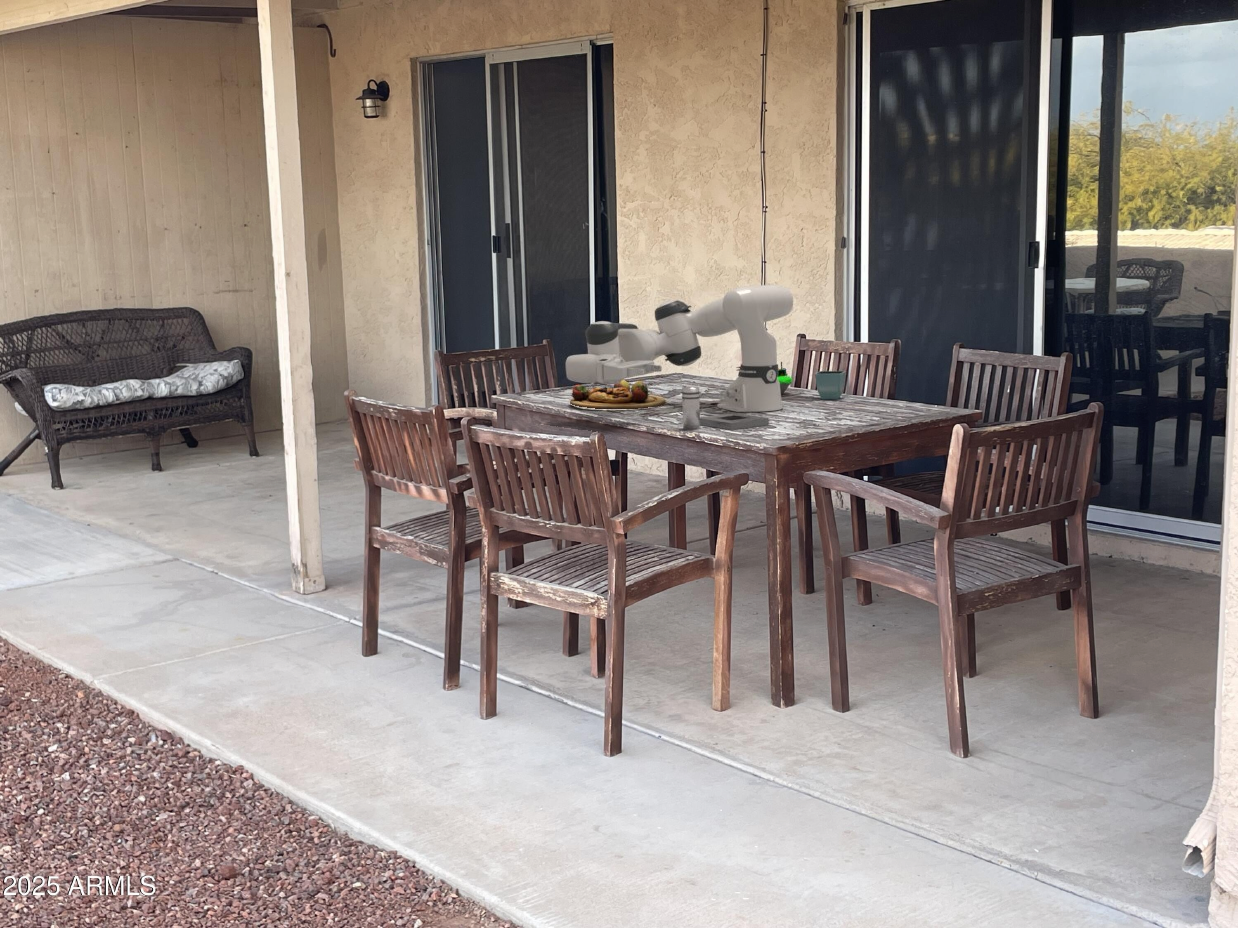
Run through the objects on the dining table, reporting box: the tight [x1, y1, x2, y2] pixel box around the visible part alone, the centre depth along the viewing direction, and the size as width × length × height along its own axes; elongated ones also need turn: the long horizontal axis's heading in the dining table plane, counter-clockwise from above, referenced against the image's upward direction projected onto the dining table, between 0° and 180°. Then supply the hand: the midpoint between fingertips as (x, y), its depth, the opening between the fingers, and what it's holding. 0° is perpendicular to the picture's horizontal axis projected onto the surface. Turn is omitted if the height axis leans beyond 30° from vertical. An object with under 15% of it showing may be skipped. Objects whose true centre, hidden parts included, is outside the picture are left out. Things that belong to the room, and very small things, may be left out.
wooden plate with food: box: [569, 379, 666, 409], centre depth 460 cm, size 32×32×8 cm
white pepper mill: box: [681, 386, 701, 431], centre depth 401 cm, size 5×5×12 cm
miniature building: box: [777, 361, 793, 395], centre depth 473 cm, size 12×12×11 cm
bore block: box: [700, 412, 770, 431], centre depth 406 cm, size 16×14×2 cm
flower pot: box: [814, 370, 847, 401], centre depth 456 cm, size 9×9×9 cm
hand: (652, 370), depth 405 cm, fingers open, 8 cm apart
